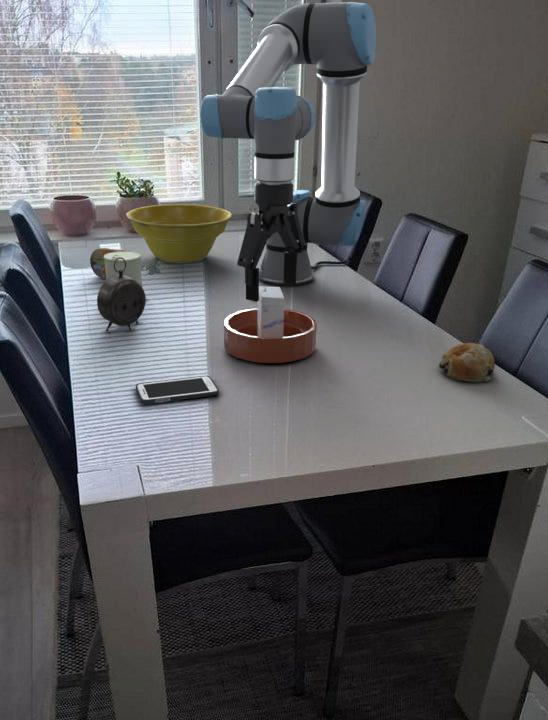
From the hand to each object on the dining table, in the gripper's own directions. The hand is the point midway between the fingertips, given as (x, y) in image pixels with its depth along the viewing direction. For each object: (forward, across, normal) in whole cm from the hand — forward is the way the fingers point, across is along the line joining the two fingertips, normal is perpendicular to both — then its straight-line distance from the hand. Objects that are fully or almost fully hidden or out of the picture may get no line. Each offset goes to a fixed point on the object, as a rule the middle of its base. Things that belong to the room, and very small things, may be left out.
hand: (271, 292), depth 138 cm
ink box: (+12, 0, 0) cm, 12 cm away
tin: (+13, -18, -66) cm, 69 cm away
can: (+13, -4, -49) cm, 51 cm away
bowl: (+12, 0, 0) cm, 12 cm away
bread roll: (+13, -12, +39) cm, 43 cm away
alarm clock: (+13, +10, -34) cm, 38 cm away
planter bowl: (+14, -46, -67) cm, 83 cm away
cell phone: (+12, +30, -1) cm, 32 cm away
